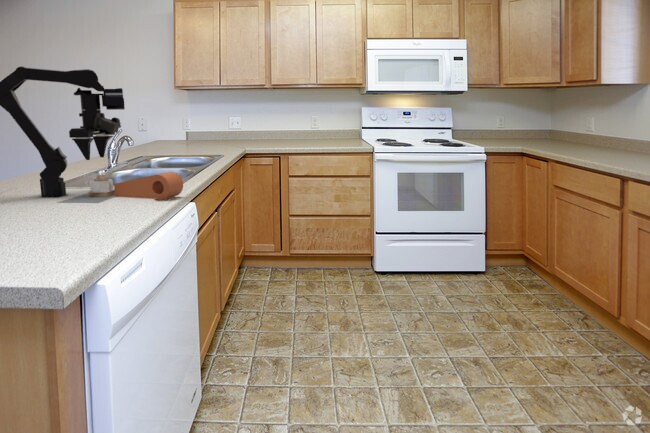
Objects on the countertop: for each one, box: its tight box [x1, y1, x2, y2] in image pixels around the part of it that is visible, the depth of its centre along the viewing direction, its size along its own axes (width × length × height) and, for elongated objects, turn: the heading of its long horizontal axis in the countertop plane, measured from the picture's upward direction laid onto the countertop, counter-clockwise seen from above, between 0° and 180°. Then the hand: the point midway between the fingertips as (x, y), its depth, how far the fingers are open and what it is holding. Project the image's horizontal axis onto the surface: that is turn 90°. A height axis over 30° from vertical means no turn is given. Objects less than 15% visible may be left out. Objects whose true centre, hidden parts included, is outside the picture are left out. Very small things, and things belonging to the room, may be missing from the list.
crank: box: [113, 171, 184, 201], centre depth 182 cm, size 20×8×8 cm, turn 72°
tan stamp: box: [87, 174, 115, 197], centre depth 183 cm, size 6×6×6 cm
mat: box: [56, 193, 118, 204], centre depth 179 cm, size 13×17×1 cm
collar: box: [89, 178, 114, 193], centre depth 183 cm, size 6×6×4 cm
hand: (95, 158), depth 187 cm, fingers open, 9 cm apart
